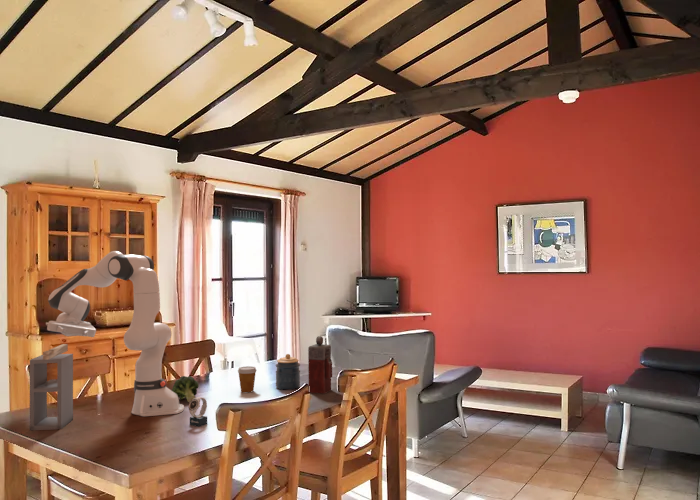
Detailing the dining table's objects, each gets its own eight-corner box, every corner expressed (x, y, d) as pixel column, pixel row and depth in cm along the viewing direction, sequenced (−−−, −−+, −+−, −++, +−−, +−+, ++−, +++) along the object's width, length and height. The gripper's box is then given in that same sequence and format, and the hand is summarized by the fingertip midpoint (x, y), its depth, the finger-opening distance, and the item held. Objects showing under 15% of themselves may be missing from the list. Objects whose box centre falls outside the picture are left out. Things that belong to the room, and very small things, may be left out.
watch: (186, 426, 236) (186, 398, 236) (200, 421, 243) (200, 394, 243) (196, 428, 233) (196, 400, 233) (210, 423, 240) (210, 396, 240)
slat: (67, 350, 255) (67, 344, 255) (48, 359, 233) (48, 351, 233) (62, 351, 255) (62, 344, 255) (43, 359, 233) (43, 352, 233)
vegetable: (173, 401, 269) (164, 381, 280) (187, 415, 277) (178, 396, 289) (195, 384, 272) (185, 366, 283) (209, 399, 280) (199, 380, 291)
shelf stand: (76, 416, 251) (76, 352, 252) (61, 428, 233) (61, 359, 234) (47, 418, 250) (47, 352, 250) (29, 430, 232) (29, 359, 232)
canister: (299, 390, 300) (298, 355, 300) (273, 390, 300) (273, 356, 300) (301, 384, 313) (301, 351, 313) (277, 384, 313) (277, 352, 313)
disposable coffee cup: (258, 389, 302) (258, 366, 302) (253, 393, 293) (253, 369, 293) (240, 389, 303) (240, 366, 303) (235, 393, 294) (235, 369, 294)
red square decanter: (328, 394, 291) (328, 338, 291) (308, 392, 295) (308, 337, 295) (335, 390, 299) (335, 335, 299) (315, 388, 303) (315, 334, 303)
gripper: (47, 315, 264) (50, 321, 253) (93, 323, 275) (99, 329, 264) (43, 329, 264) (46, 335, 252) (90, 336, 275) (95, 342, 264)
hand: (74, 332), depth 258 cm, fingers open, 8 cm apart
